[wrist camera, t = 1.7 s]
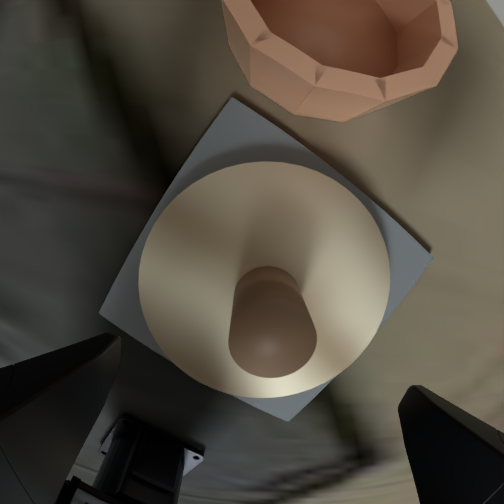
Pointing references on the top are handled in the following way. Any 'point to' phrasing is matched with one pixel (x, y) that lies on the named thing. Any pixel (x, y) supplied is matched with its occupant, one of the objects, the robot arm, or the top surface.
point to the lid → (264, 279)
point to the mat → (246, 151)
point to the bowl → (340, 51)
